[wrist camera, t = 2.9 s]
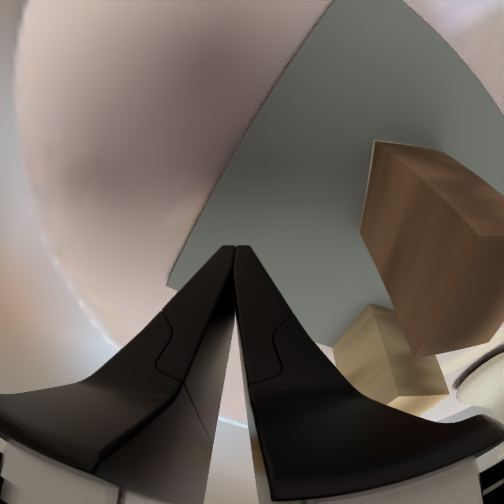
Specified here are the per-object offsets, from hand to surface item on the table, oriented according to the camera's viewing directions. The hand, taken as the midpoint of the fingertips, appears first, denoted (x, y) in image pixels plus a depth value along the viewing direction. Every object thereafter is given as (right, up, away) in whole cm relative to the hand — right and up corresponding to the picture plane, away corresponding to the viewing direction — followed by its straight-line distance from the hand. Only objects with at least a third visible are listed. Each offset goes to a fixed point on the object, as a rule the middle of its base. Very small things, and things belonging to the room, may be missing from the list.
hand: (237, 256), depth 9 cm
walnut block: (+8, +3, +4) cm, 10 cm away
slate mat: (+9, +1, +6) cm, 11 cm away
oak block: (+10, -6, +11) cm, 16 cm away
